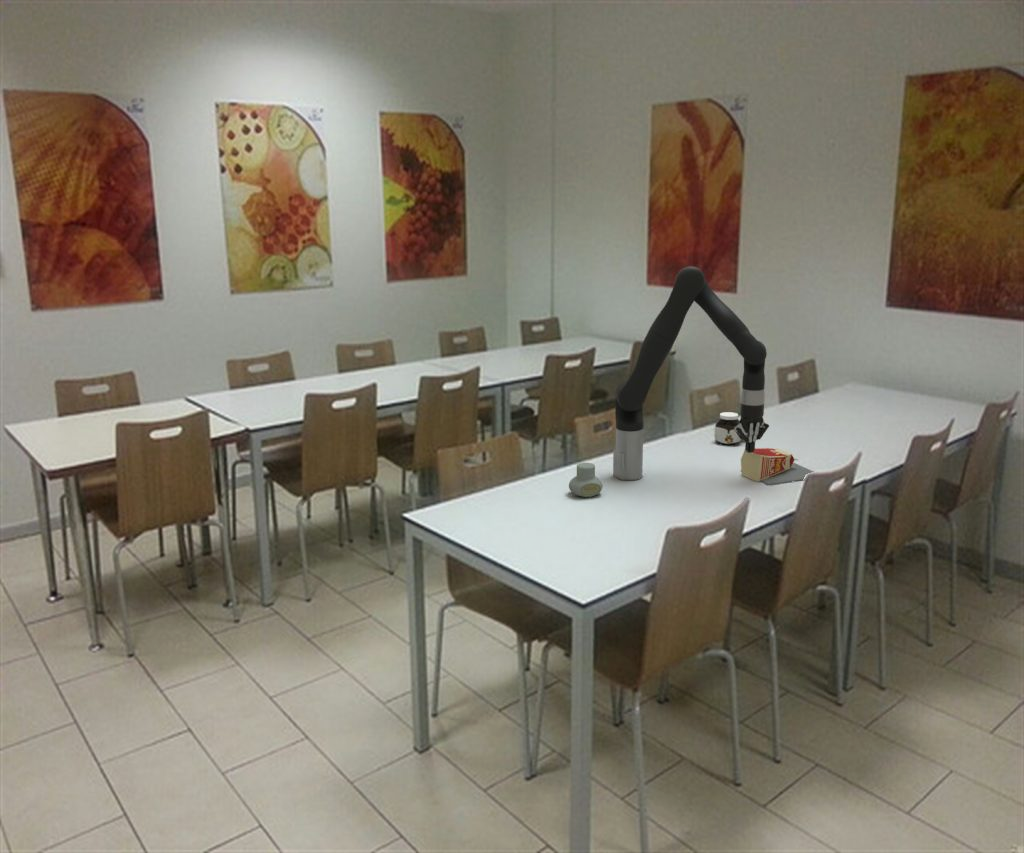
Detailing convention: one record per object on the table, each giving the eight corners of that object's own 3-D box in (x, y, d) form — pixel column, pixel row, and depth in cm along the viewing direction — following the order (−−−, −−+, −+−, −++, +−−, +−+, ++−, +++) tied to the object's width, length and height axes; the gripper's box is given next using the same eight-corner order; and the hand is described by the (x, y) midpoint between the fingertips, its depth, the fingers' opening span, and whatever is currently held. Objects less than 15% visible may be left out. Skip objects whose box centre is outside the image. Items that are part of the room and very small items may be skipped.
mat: (768, 485, 284) (768, 484, 284) (740, 471, 298) (740, 470, 298) (823, 477, 291) (823, 476, 290) (794, 464, 305) (794, 462, 305)
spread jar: (712, 444, 331) (713, 415, 328) (719, 437, 340) (721, 408, 337) (743, 448, 325) (745, 418, 322) (750, 440, 335) (752, 411, 332)
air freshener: (574, 500, 274) (574, 470, 271) (565, 492, 282) (565, 463, 279) (606, 496, 277) (606, 467, 274) (596, 488, 284) (597, 459, 282)
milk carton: (758, 481, 287) (800, 473, 297) (761, 455, 285) (803, 448, 295) (738, 473, 295) (780, 466, 305) (741, 448, 292) (783, 441, 302)
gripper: (741, 406, 278) (739, 457, 282) (776, 402, 282) (773, 452, 286) (728, 401, 285) (726, 451, 289) (762, 397, 289) (760, 447, 293)
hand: (749, 452), depth 288 cm, fingers closed
